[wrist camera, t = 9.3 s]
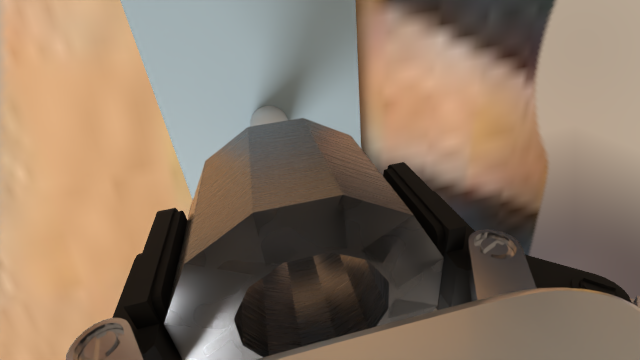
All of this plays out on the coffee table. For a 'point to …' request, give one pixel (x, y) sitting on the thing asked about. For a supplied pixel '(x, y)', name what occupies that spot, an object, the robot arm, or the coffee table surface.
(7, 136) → the coffee table surface
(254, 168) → the steel collar
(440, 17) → the coffee table surface
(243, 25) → the post board
